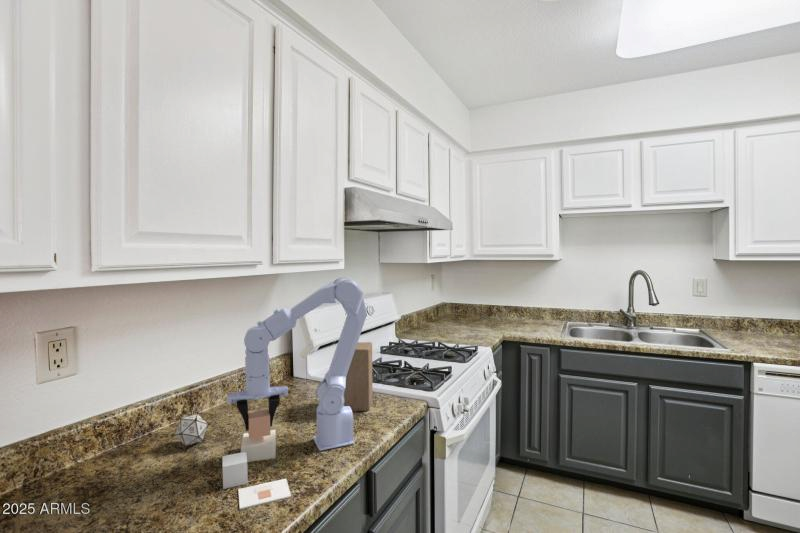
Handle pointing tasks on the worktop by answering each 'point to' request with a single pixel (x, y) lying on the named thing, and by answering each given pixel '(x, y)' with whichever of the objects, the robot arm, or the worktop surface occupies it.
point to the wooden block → (359, 379)
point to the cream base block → (259, 447)
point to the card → (263, 493)
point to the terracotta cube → (259, 423)
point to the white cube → (235, 470)
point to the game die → (191, 429)
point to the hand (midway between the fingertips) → (258, 426)
